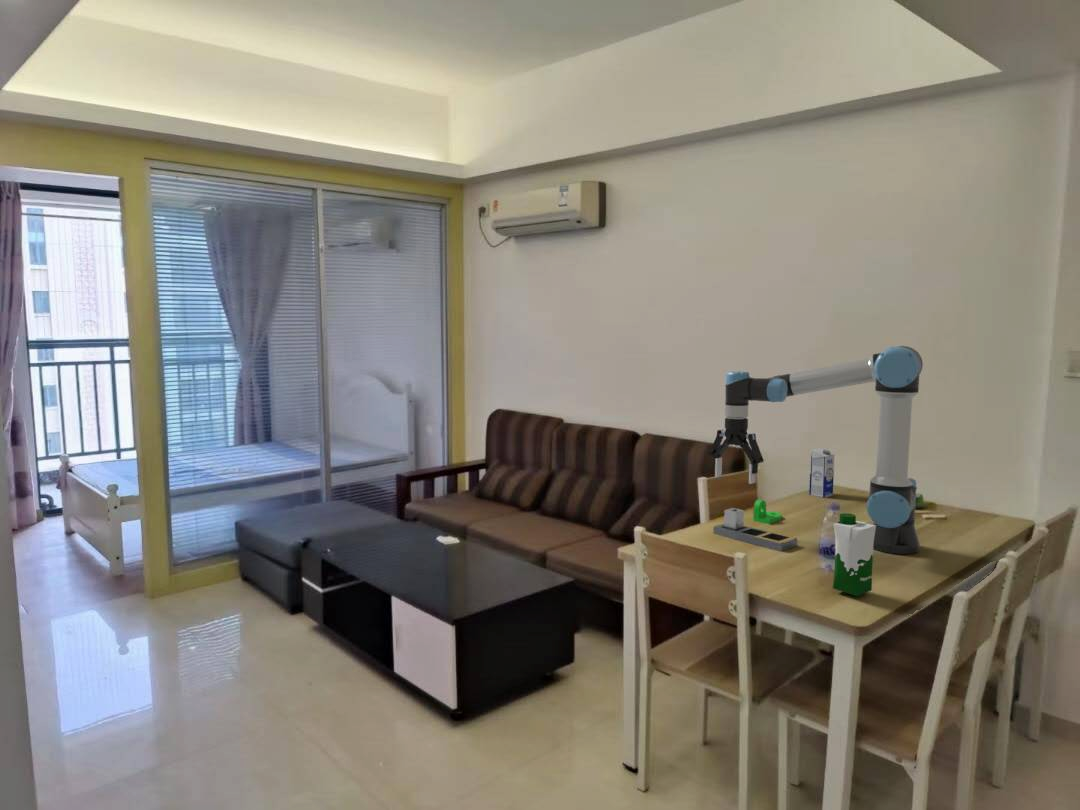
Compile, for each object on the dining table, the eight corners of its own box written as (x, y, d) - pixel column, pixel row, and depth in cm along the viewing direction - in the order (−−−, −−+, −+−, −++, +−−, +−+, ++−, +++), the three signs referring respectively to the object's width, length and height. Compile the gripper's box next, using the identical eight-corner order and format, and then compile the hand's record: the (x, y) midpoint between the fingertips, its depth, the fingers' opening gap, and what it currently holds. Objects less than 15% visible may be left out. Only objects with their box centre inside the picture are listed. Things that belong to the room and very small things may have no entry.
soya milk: (845, 581, 203) (848, 510, 201) (877, 591, 195) (880, 517, 193) (827, 588, 198) (830, 515, 195) (859, 598, 190) (862, 523, 188)
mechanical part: (768, 525, 261) (769, 503, 260) (753, 522, 265) (753, 500, 264) (784, 519, 269) (785, 498, 268) (769, 516, 273) (770, 495, 273)
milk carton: (817, 494, 307) (819, 447, 305) (833, 497, 302) (834, 449, 300) (808, 497, 303) (810, 449, 300) (824, 500, 297) (825, 451, 295)
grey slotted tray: (796, 545, 236) (797, 537, 235) (781, 551, 230) (781, 543, 230) (729, 529, 256) (729, 521, 255) (713, 533, 250) (713, 526, 250)
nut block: (743, 533, 249) (743, 509, 248) (735, 535, 246) (735, 512, 245) (732, 530, 252) (732, 507, 251) (724, 532, 249) (724, 509, 248)
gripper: (775, 420, 238) (773, 484, 240) (713, 413, 257) (711, 472, 259) (762, 422, 233) (760, 487, 235) (699, 414, 252) (698, 475, 255)
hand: (734, 479), depth 247 cm, fingers open, 13 cm apart
